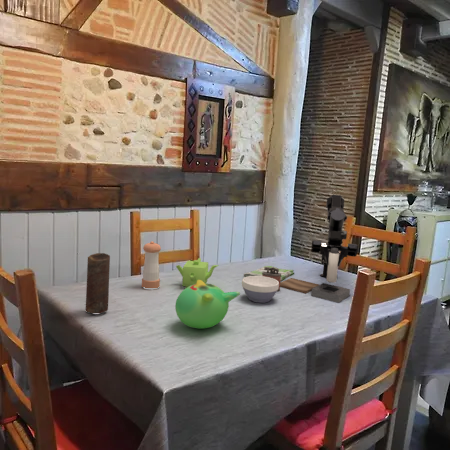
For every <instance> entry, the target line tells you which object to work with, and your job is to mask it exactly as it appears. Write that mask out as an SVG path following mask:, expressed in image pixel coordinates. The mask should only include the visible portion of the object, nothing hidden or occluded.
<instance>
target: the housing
mask: <svg viewBox="0 0 450 450" xmlns="http://www.w3.org/2000/svg"><path fill="white" fill-rule="evenodd" d="M310 292H311V294H310V295H311V297H314V298H319V299H323V300H326V301H330V302H335V303H337V304H338V303H341V302H342V301H344V300H346V299H347V298H349V297H350V293H351V288H347V287H343V286H342V287H341V286H338V285H333V284H329V283H325V282H323V283H321V284H320V283H319V285H318V286H316V287H314V288H312V291H310Z"/></svg>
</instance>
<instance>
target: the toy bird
mask: <svg viewBox="0 0 450 450" xmlns="http://www.w3.org/2000/svg"><path fill="white" fill-rule="evenodd" d="M240 294H241V293H240V291H230V292H225V291H224V290H222V288H220V287H219V286H217V285H215V284H211V283H204V282H203V281H202V280H197V283H196V284H194V285H191V286H189V287H187V288H184V289H183V290H182V291H181V292H180V293H179V294H178V297H177V298H176V301H175V306H174V307H175V309H174V310H175V312H176V315H177V318H178V319H179V321H181V323H183V324H184V325H186V326H187V327H189V328H193V329H200V330H202V329H210V328H213V327H214V326H216V325H218V324H220V322H221V321H223V320H224V319H225V317H226V315H227V314H228V311H229V305H230V303H229V302H230V301H232V300H234V299H236V298H238V297H239V296H240Z"/></svg>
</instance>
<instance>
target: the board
mask: <svg viewBox="0 0 450 450" xmlns="http://www.w3.org/2000/svg"><path fill="white" fill-rule="evenodd" d="M318 285H320V283H315V282H310V281H306V280H302V279H298V278H294V277H289V278H286V279H284V280H282V281H280V288H281V289H285V290H286V289H287V290H290V291H293V292H297V293H302V294H308V293H309V292H312V288H314V287H316V286H318Z"/></svg>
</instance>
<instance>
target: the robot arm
mask: <svg viewBox="0 0 450 450" xmlns="http://www.w3.org/2000/svg"><path fill="white" fill-rule="evenodd" d="M325 206H326V207H325V208H326V212H327V216H326V220H327V222H328V230H327V231H328V233H327V243H326V242H322V240H315V239H313V240H312V241H311V251H310V252H312V253H315V254H316V253H319V255H321V257H320V258H321V261H320V264H321V265H323V266H322V267H323V268H322V274H320V275H319V276H320V277H324V278H327V270H328V261H329V252H331V248H332V247H334V248H338V253H339V261H338V267H340V265H341V264H342V261H343V260H344V259H345V258H347V257H357V255H358V250H359V246H358V244H356V243H347V246H343V245H342V244H343V240H347V236H348V235H347V234H348V231H347V230H343V226H344V222H346V220H347V221H348V216H347V215H346V213H345V210H344V207H345V198H343V196H342V195H340V194H330V196H329V197H327V198H326V205H325Z"/></svg>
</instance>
